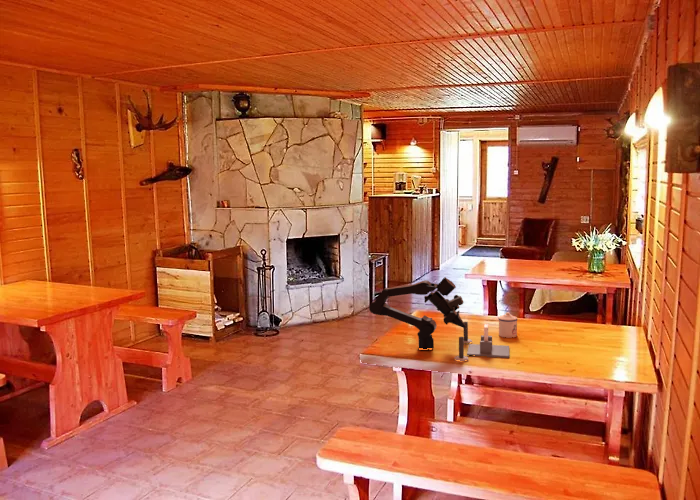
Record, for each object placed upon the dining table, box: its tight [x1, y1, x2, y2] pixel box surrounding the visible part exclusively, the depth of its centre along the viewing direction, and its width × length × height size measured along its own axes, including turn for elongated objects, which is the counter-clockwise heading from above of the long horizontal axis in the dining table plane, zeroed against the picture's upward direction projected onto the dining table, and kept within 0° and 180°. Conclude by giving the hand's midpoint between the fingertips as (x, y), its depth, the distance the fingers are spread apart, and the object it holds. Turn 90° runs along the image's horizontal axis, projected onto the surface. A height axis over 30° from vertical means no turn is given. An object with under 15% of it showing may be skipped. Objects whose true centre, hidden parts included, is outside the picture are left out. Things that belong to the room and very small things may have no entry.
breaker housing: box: [466, 335, 510, 359], centre depth 260 cm, size 18×16×6 cm
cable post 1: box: [453, 336, 469, 361], centre depth 249 cm, size 6×6×10 cm
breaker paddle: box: [483, 323, 489, 341], centre depth 259 cm, size 2×6×10 cm, turn 165°
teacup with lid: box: [498, 311, 518, 338], centre depth 287 cm, size 12×9×12 cm
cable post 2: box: [463, 321, 473, 343], centre depth 276 cm, size 6×6×10 cm
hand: (464, 327), depth 261 cm, fingers closed
